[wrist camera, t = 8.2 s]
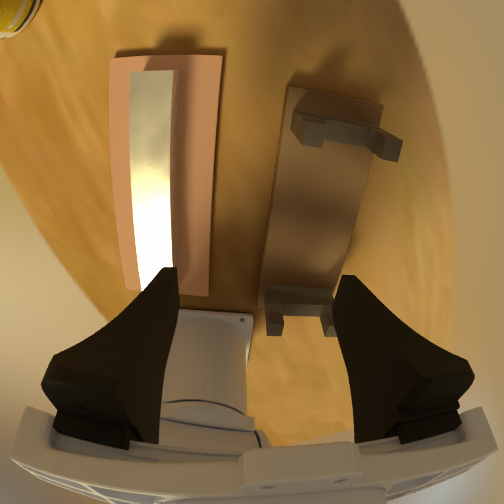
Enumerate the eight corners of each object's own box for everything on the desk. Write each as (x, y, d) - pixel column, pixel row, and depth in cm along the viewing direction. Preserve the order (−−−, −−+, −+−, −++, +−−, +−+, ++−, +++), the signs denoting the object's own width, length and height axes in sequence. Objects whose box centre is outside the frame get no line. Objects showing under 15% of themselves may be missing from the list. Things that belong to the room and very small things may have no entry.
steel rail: (179, 284, 25) (174, 305, 23) (150, 282, 24) (143, 302, 22) (181, 69, 16) (173, 70, 14) (143, 70, 16) (130, 71, 14)
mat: (128, 284, 25) (126, 289, 25) (113, 58, 15) (110, 58, 15) (208, 291, 26) (208, 296, 25) (222, 56, 16) (222, 55, 15)
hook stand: (324, 302, 27) (337, 348, 22) (256, 299, 26) (258, 348, 22) (375, 102, 18) (414, 117, 13) (286, 85, 17) (301, 91, 13)
